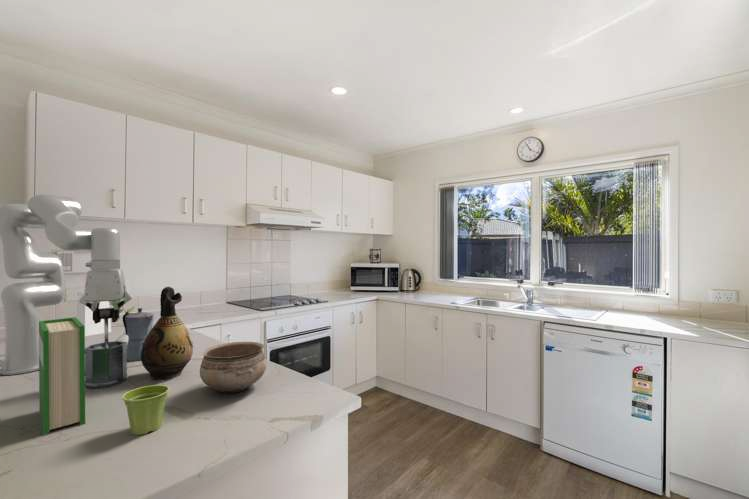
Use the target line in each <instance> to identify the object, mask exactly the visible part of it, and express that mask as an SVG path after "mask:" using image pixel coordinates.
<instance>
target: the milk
mask: <svg viewBox="0 0 749 499" xmlns="http://www.w3.org/2000/svg"><path fill="white" fill-rule="evenodd" d="M83 295H84V292H83V293H82V294H80V295H79V297H78V298H77V300H76V318H77V319H78V320H79V321H80V322H81V323H82V324H83V325H84V326H85V337H88V336H94V335H102V334H104V319H101V322H99V323H97V324H95V323H94V321H93V311H91V309H90V308H88V307H87V306H86V305H83V304H81V303H80V302H79V300H80V299H81V298H82V297H83ZM91 303H92V302H91ZM102 308H111V305H110V303H109V301H101V302H100V305H99V309H102ZM108 333H112V319H111V318H109V319H108Z"/></svg>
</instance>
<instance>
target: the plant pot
mask: <svg viewBox="0 0 749 499" xmlns="http://www.w3.org/2000/svg"><path fill="white" fill-rule="evenodd" d="M169 391H170V386H168V385H166V384H165V385H163V384H153V385H147V386H142V387H141V386H140V387H138V388H134V389H131V390H129V391H127V392H125V393H124V394H122V396H121V399H122V401H124V404H125V407H126V410H127V417H128V421H129V422H128V423H129V428H130V432H131V433H132V434H133V435H145V434H148V433H149V432H154V431H156V430H158V429H159V428H160V427H162V423H163V416H164V410H165V406H166V405H165V404H166V398H167V397H168V393H169Z"/></svg>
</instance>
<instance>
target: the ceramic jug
mask: <svg viewBox="0 0 749 499" xmlns="http://www.w3.org/2000/svg"><path fill="white" fill-rule="evenodd" d="M182 298H183V296H182V295H181V293H180V292H176V293H175V289H174V288H173V287H171V286H166V287H164V288H162V290H161V292H160V299H159V301H160V315H159V316H160V318H158V320H157V321H156V323H155V324H154V325H152V329H151V331H150V332H149V334H148V335H147V337H146V339H145V341H144V344H143V347H142V350H141V360H140V361H141V364H142V366H143V368H144V369H145V370H146V372H148V373H149V376H150V379H152V380H153V381H159V380H161V381H162V380H163V381H165V380H170V379H173V378H176V377H179V376H180V375H181V374H182V372H183V371H184V369H185V367H186V366H187V365H188V364H189V362H191V359H192V356H193V351H194V343H193V340H192V337H191V335H190V332H189V330H188V329H187V327H186V326H185V324H184V323H183V321H182V320H181V318H179V316H178V314H177V313H176V307H175V306H176V305H177V304H180V302H182Z"/></svg>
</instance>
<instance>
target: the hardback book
mask: <svg viewBox="0 0 749 499" xmlns="http://www.w3.org/2000/svg"><path fill="white" fill-rule="evenodd" d="M85 337H86V336H85V326H84V325H83V324H82V323H81V322H80V321H79V320H78V319H77V316H75V317H66V318H57V319H47V320H42V321H39V370H38V371H39V372H38V373H39V374H38V379H39V380H38V381H39V382H38V383H39V387H38V388H39V389H38V390H39V393H38V394H39V398H38V399H39V401H38V402H39V403H38V404H39V405H38V406H39V407H38V408H39V411H38V412H39V418H40V422H41V428H42V433H43V436H47V435H50V431H51V430H54V429H58V428H62V427H65V426H70V425H72V424H76V423H79V425H80V426H82V425H86V388H85V348H86V347H85V346H86V345H85V344H86V343H85V342H86V341H85V340H86V338H85Z"/></svg>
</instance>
